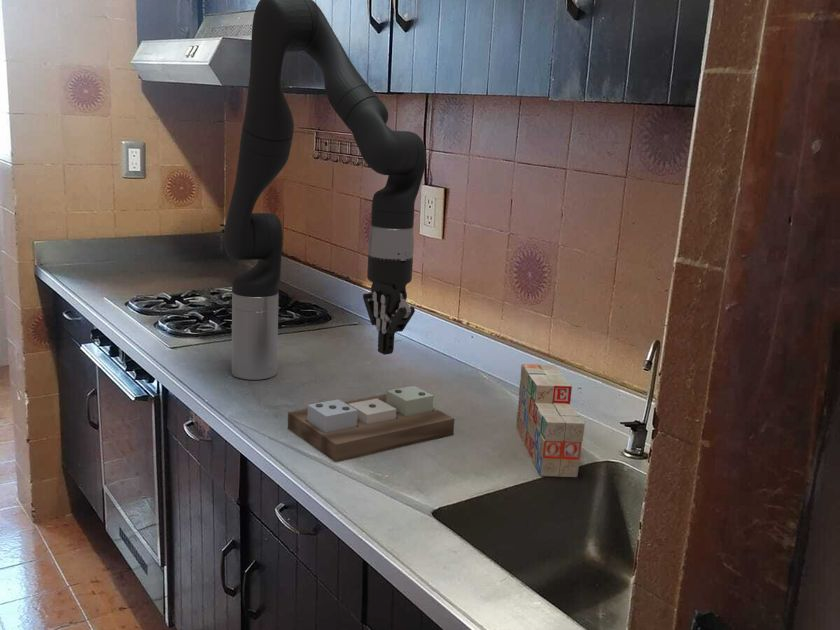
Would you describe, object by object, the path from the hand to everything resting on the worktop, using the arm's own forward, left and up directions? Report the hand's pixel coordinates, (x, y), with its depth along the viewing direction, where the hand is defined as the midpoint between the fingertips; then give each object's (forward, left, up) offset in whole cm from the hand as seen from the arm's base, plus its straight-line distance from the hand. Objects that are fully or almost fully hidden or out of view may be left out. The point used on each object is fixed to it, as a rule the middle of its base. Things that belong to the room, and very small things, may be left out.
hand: (385, 353), depth 139 cm
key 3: (0, -10, -12) cm, 15 cm away
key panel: (0, -2, -14) cm, 14 cm away
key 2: (0, +6, -12) cm, 13 cm away
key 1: (0, -2, -13) cm, 13 cm away
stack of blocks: (+21, +20, -14) cm, 32 cm away
